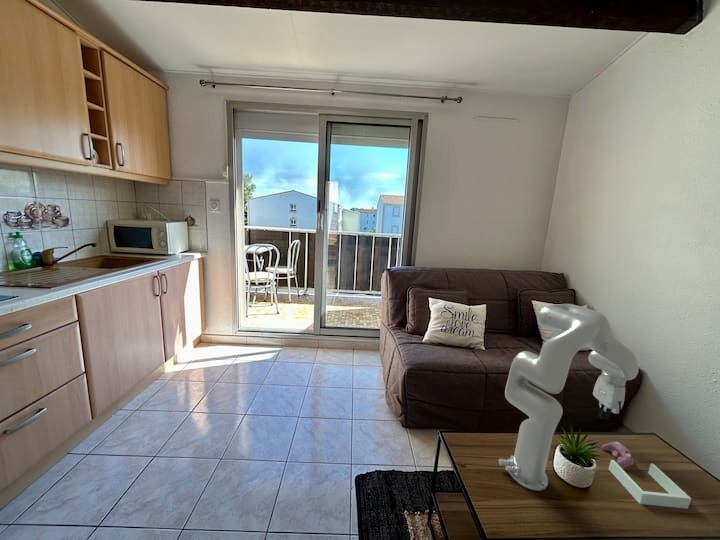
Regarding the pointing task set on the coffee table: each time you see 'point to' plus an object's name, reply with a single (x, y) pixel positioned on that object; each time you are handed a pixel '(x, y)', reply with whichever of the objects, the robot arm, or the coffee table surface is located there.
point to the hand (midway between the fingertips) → (603, 417)
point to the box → (653, 498)
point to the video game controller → (618, 450)
